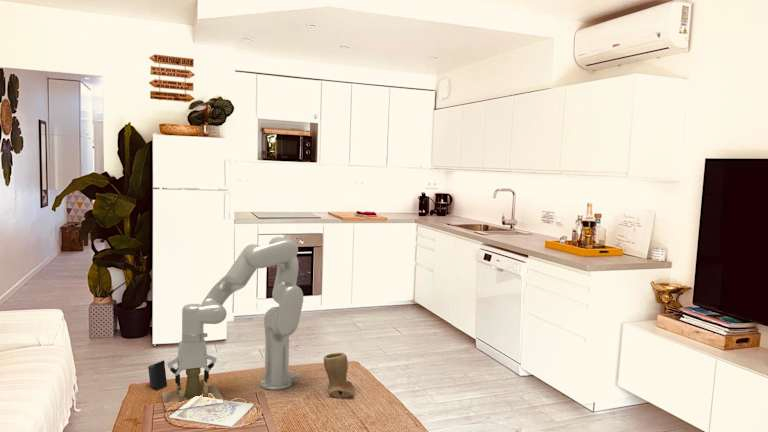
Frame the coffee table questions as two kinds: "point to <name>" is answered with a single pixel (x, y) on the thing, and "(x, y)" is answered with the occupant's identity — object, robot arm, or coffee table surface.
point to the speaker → (157, 375)
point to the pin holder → (180, 393)
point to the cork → (192, 383)
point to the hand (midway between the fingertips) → (192, 383)
